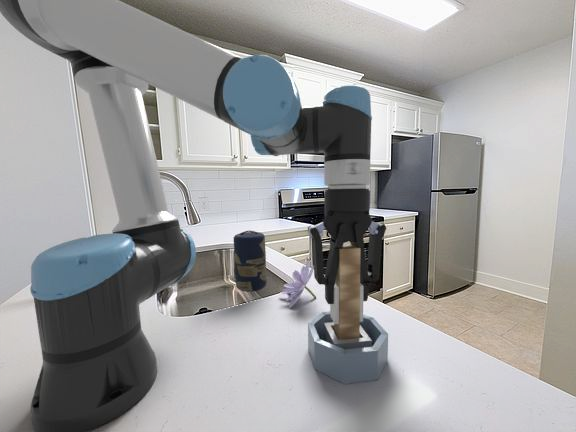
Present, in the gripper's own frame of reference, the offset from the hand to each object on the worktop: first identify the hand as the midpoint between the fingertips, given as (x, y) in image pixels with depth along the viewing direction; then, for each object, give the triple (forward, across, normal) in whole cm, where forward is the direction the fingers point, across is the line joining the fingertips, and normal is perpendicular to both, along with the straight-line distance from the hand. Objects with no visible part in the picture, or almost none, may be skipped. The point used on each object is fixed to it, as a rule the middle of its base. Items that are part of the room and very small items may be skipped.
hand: (346, 318), depth 44 cm
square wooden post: (+5, 0, 0) cm, 5 cm away
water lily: (+7, -5, +24) cm, 26 cm away
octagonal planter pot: (+7, 0, 0) cm, 7 cm away
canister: (+7, -18, +34) cm, 39 cm away
